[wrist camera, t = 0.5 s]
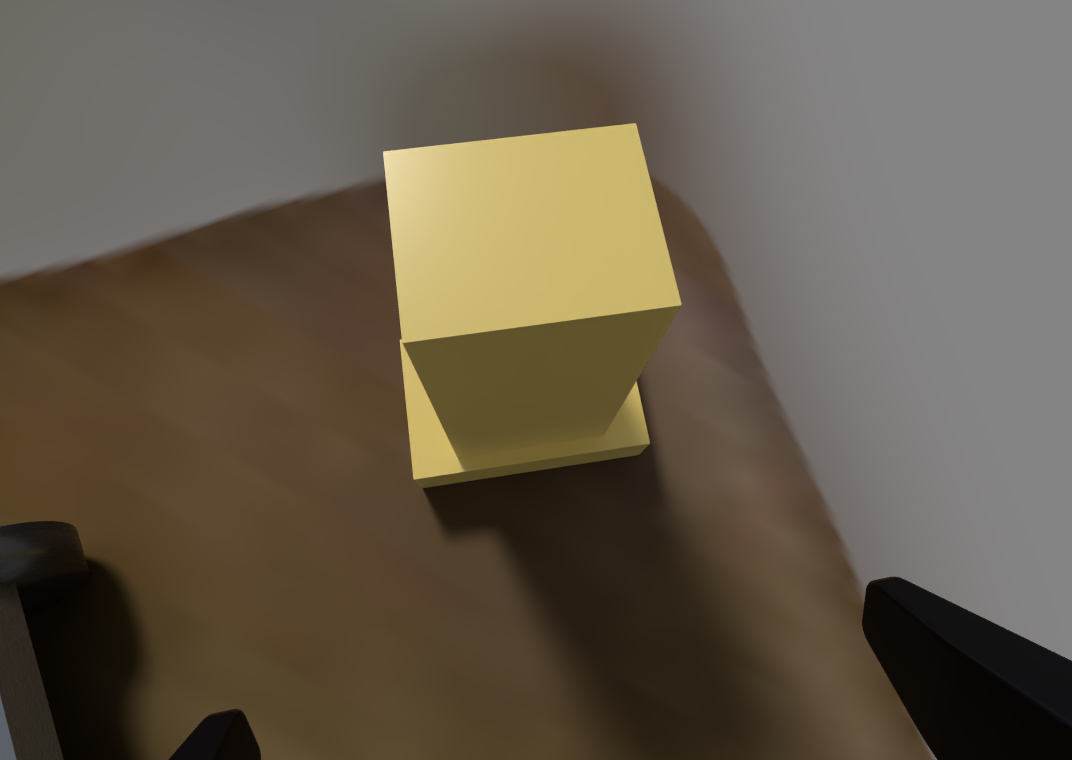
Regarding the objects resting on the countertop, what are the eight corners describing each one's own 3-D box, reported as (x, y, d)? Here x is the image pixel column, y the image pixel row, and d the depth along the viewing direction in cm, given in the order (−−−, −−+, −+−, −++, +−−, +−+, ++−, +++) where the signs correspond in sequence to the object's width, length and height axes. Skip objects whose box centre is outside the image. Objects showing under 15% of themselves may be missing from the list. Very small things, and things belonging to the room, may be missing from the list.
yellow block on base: (639, 454, 23) (769, 319, 11) (422, 488, 22) (316, 382, 11) (612, 330, 25) (702, 95, 13) (409, 358, 24) (302, 138, 12)
